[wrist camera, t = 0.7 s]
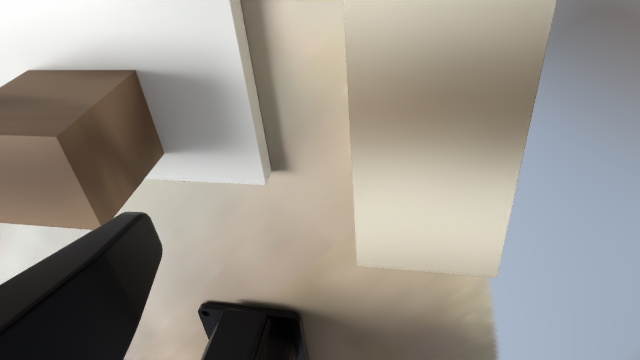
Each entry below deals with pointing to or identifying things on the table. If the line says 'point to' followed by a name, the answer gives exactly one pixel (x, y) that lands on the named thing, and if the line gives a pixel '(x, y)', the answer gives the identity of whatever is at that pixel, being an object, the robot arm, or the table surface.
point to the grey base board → (157, 73)
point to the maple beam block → (439, 126)
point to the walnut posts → (73, 146)
